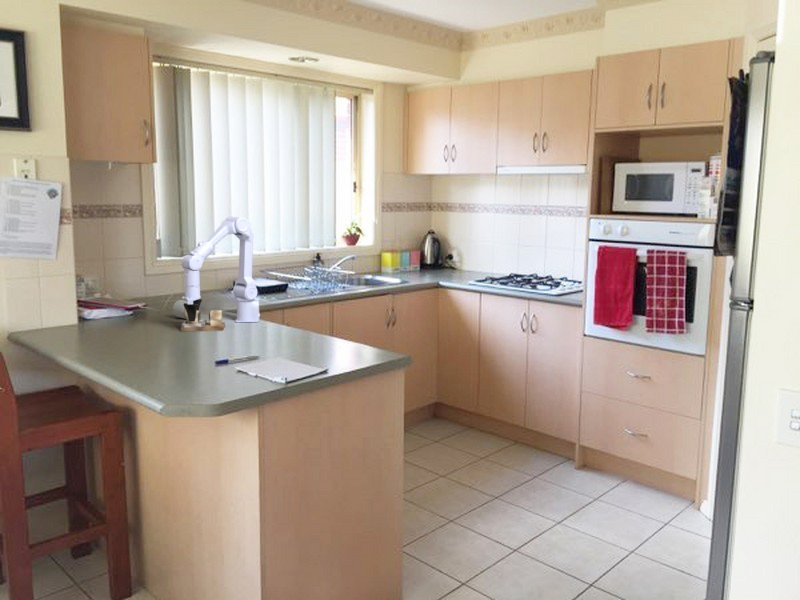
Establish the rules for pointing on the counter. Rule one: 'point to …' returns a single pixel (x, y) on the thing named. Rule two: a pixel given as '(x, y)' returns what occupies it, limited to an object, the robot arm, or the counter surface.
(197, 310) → the tan square block
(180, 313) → the ceramic mug
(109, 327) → the counter surface
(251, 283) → the robot arm
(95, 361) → the counter surface
